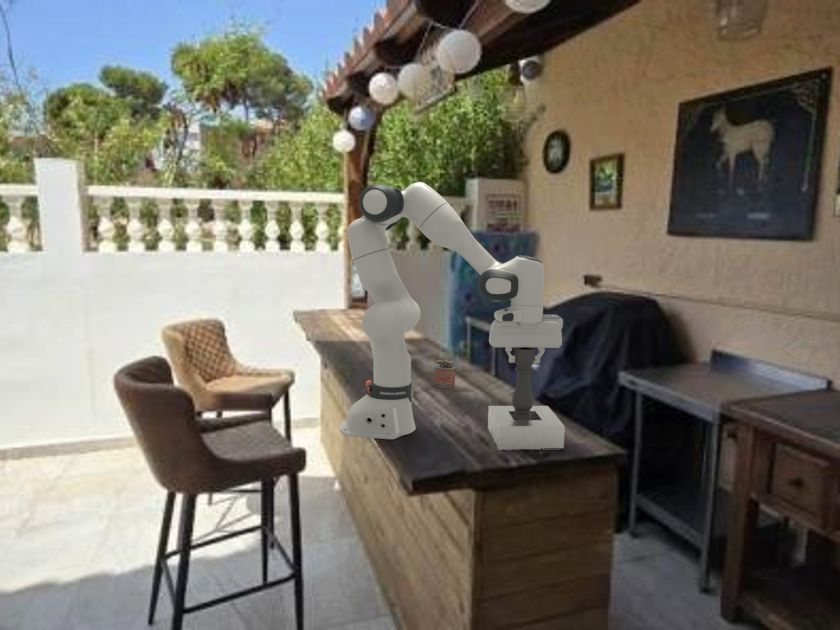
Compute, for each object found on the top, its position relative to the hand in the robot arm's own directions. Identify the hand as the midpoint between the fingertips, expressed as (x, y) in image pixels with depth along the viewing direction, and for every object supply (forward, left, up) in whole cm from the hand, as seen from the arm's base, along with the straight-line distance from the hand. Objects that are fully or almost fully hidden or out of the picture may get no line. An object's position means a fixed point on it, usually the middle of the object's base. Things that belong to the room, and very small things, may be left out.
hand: (524, 362), depth 169 cm
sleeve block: (+1, 0, -23) cm, 23 cm away
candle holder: (0, 0, -21) cm, 21 cm away
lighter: (-17, +55, -23) cm, 62 cm away
